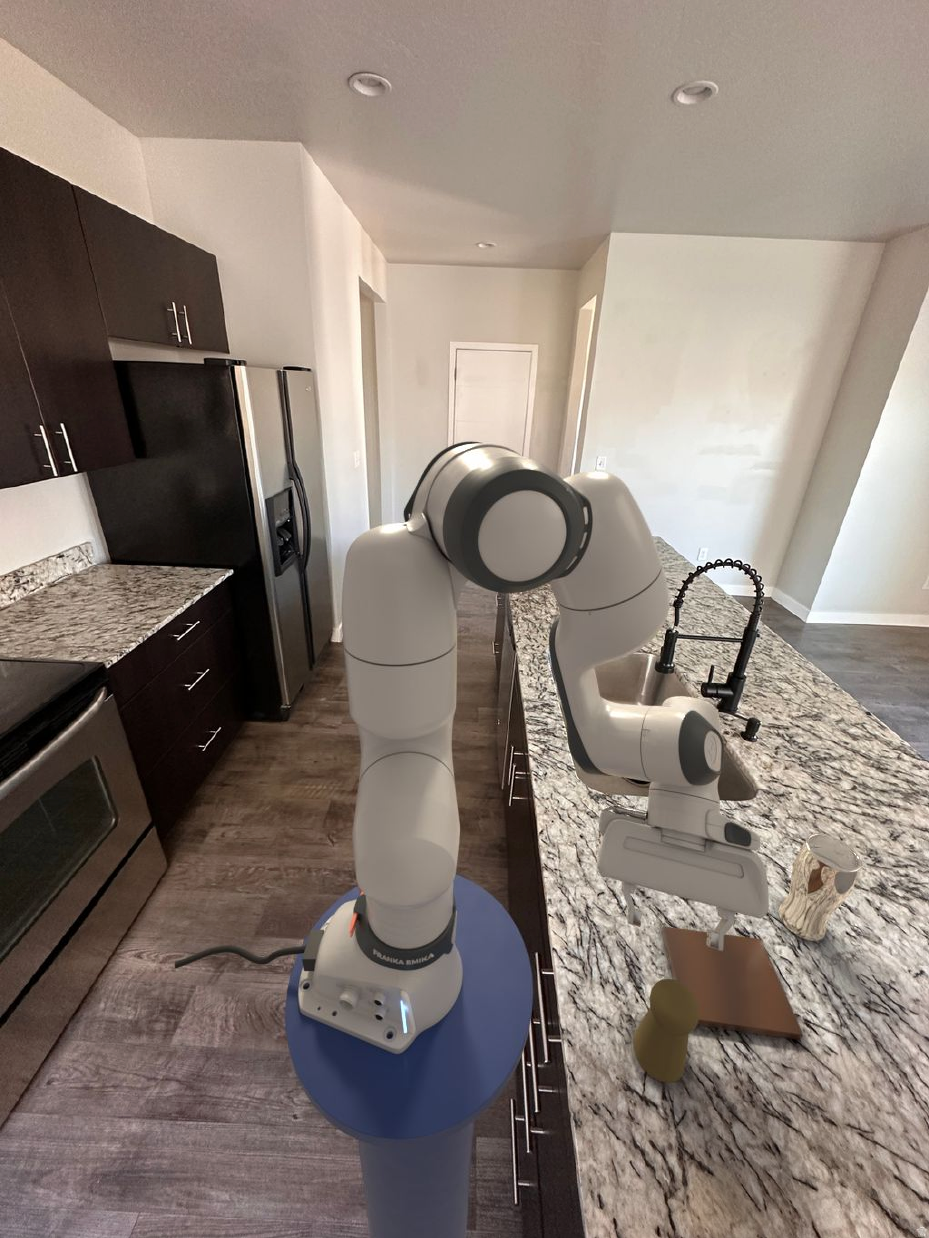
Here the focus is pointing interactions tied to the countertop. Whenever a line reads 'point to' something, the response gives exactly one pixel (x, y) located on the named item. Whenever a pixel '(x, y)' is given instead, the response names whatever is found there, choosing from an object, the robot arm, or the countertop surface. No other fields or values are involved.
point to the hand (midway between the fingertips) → (673, 936)
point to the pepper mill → (666, 1031)
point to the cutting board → (731, 983)
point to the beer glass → (818, 885)
